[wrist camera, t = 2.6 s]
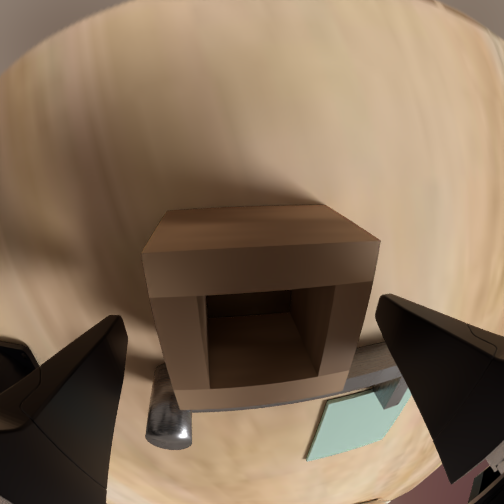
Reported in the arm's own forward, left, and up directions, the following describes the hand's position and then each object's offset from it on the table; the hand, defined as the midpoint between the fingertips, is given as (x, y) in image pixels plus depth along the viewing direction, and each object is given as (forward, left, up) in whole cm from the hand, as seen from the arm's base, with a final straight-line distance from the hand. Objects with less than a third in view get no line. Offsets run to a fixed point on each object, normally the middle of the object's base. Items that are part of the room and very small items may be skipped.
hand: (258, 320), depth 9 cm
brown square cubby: (0, 0, -3) cm, 3 cm away
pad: (+9, -14, -3) cm, 17 cm away
